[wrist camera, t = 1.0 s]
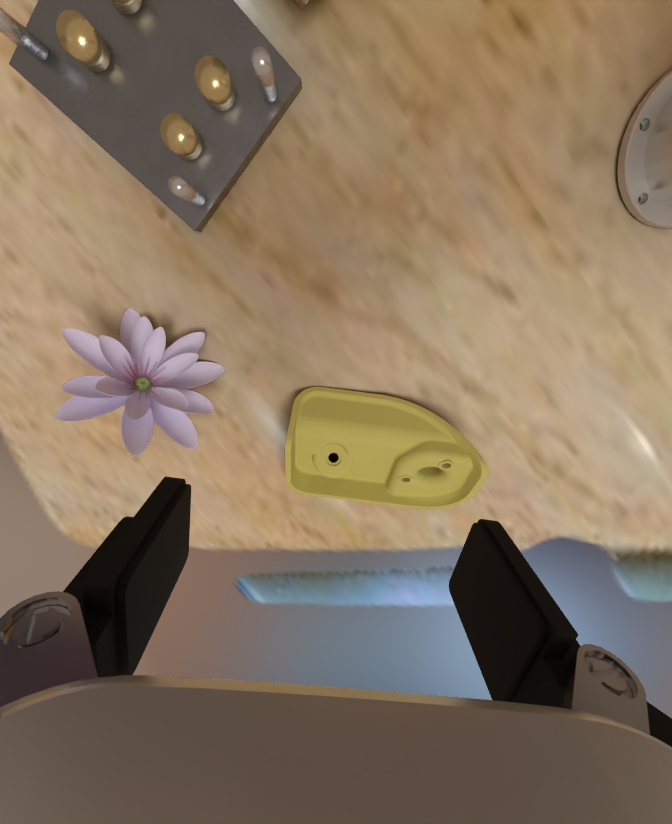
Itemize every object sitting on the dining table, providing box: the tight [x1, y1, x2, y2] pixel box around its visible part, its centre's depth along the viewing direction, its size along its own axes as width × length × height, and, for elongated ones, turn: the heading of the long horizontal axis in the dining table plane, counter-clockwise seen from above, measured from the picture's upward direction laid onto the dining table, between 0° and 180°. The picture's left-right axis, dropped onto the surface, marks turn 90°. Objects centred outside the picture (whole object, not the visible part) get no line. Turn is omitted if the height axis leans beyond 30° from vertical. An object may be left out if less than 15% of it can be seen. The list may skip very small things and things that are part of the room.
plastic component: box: [285, 386, 488, 509], centre depth 38 cm, size 20×7×10 cm
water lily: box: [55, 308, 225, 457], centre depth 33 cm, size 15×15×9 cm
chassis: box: [0, 0, 302, 232], centre depth 25 cm, size 14×16×6 cm
